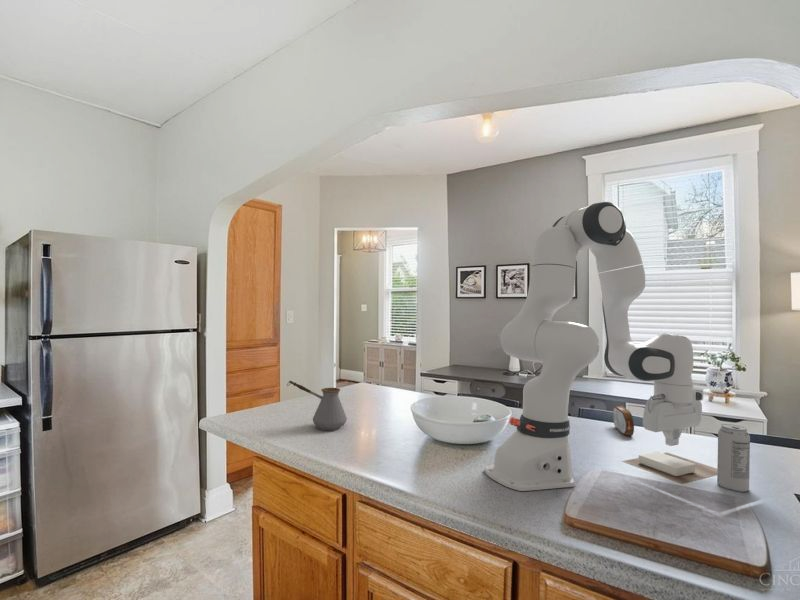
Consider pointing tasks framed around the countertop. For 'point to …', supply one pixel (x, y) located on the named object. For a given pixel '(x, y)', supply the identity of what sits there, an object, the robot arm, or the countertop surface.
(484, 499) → the countertop surface
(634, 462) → the board
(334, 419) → the coffee pot
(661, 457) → the tile
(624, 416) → the tin
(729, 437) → the energy drink can
